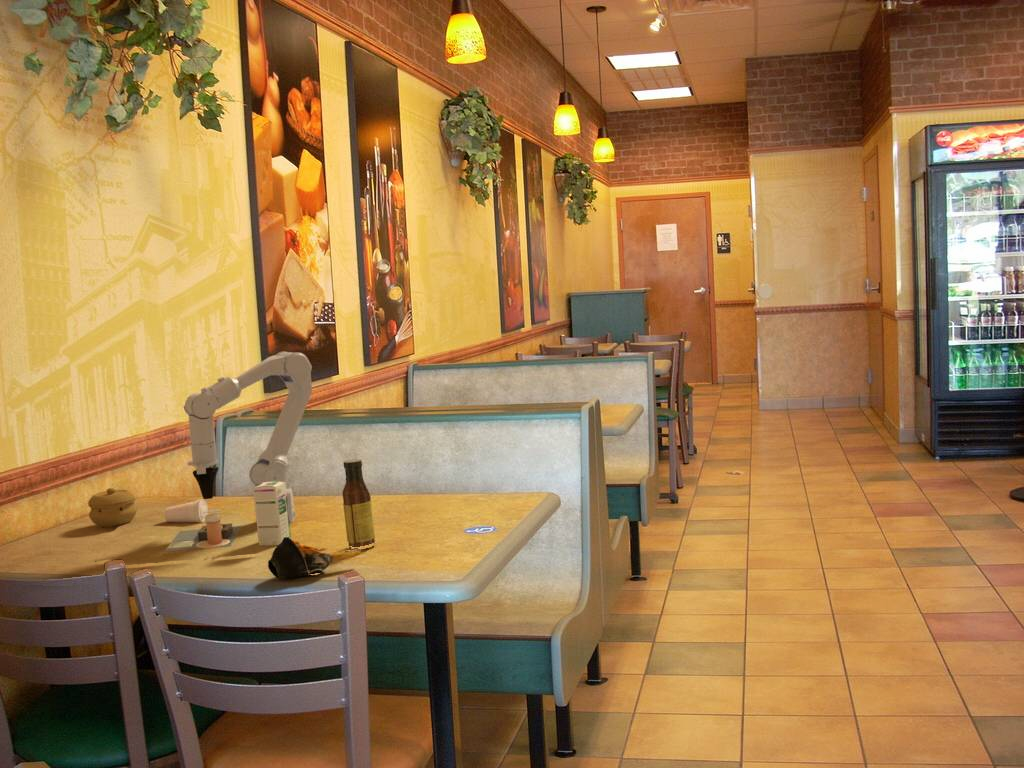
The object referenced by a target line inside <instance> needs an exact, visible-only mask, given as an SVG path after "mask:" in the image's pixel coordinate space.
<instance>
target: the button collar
mask: <svg viewBox="0 0 1024 768" xmlns="http://www.w3.org/2000/svg"><path fill="white" fill-rule="evenodd" d="M221 526H223V529H221V534H222V539H227V538H229V537H230V535H231V534H232V532H233V527H234V526H233V523H221ZM199 529H200V530H199V532H198V541H203V540H208V538H207V527H206V525H202V526H201V528H199Z"/></svg>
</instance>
